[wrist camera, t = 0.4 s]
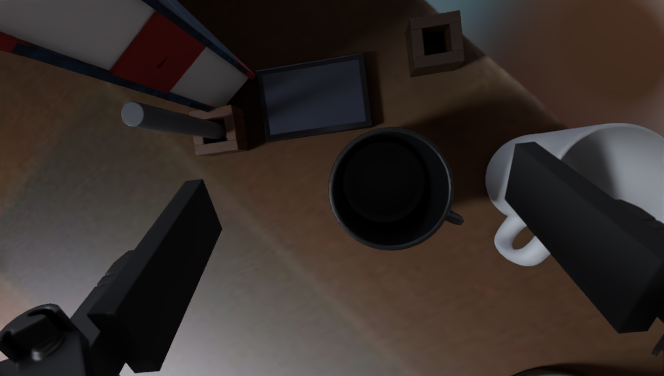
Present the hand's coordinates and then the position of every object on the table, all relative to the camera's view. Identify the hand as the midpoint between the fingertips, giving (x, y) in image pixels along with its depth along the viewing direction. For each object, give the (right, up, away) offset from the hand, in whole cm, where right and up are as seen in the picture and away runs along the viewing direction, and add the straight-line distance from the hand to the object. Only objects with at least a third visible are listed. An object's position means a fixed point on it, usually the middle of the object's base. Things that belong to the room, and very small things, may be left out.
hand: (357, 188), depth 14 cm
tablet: (-3, +9, +19) cm, 21 cm away
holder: (+9, +14, +18) cm, 24 cm away
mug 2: (+17, 0, +18) cm, 25 cm away
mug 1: (+5, 0, +19) cm, 20 cm away
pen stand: (-12, +6, +20) cm, 25 cm away
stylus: (-12, +6, +20) cm, 25 cm away
